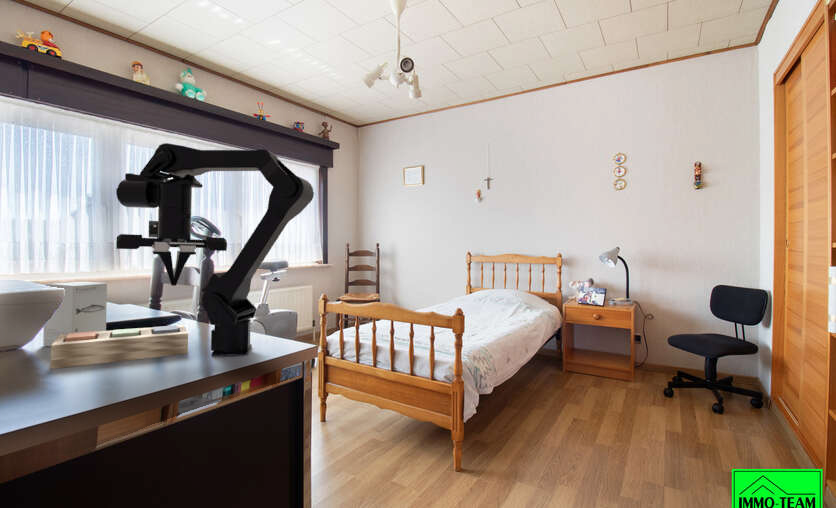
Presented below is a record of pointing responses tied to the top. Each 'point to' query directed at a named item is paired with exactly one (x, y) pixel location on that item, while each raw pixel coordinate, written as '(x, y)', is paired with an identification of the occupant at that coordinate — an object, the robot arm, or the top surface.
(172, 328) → the key slate
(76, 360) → the wooden slotted block
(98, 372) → the top surface
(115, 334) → the key sage
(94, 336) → the key terracotta
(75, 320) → the supplement box
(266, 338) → the top surface
